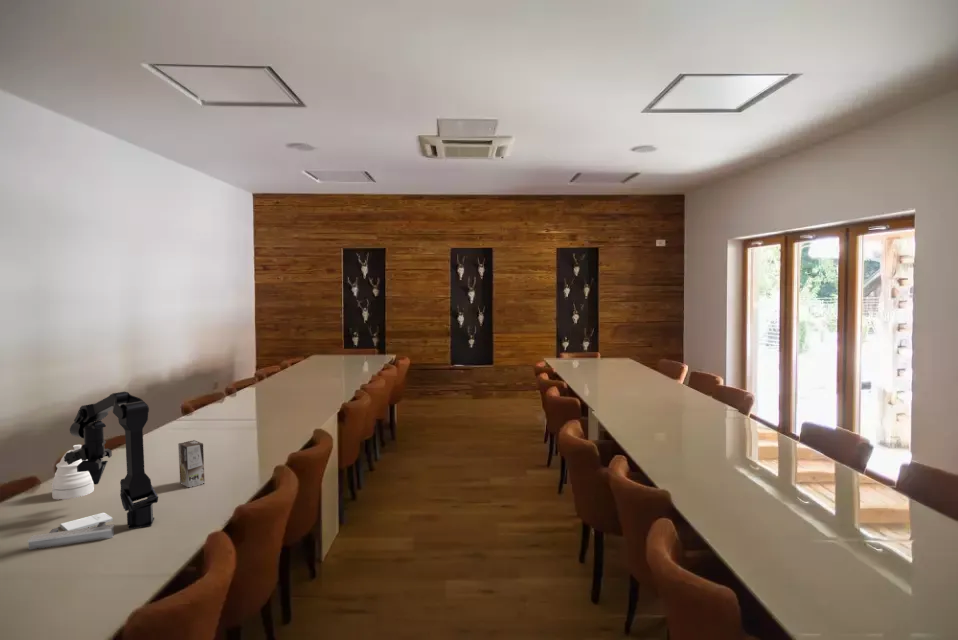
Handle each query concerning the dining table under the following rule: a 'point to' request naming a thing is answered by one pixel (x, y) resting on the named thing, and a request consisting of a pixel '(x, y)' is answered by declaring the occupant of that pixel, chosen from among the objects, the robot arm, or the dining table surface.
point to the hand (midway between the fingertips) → (96, 484)
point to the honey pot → (71, 480)
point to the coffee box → (191, 463)
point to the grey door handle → (71, 536)
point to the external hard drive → (86, 522)
